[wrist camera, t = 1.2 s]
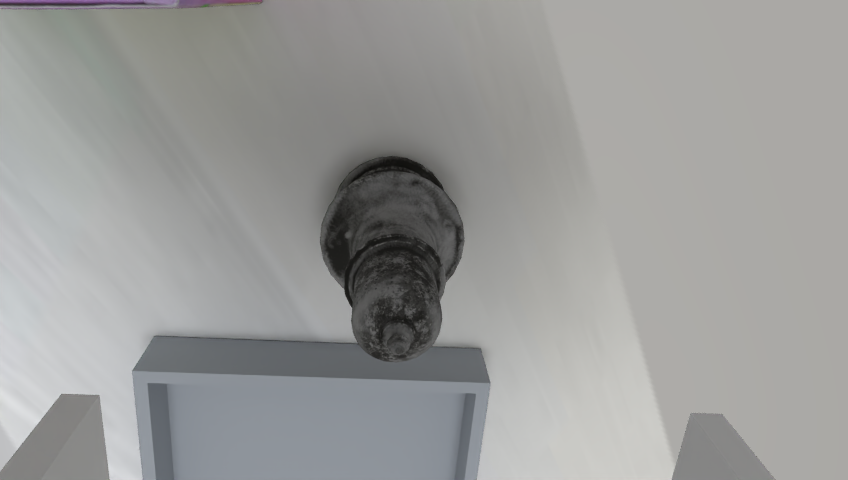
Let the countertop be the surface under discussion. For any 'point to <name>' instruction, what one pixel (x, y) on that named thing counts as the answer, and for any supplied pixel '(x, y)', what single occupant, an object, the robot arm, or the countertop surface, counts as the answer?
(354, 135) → the countertop surface
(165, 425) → the tray
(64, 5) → the box
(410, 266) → the salt shaker
